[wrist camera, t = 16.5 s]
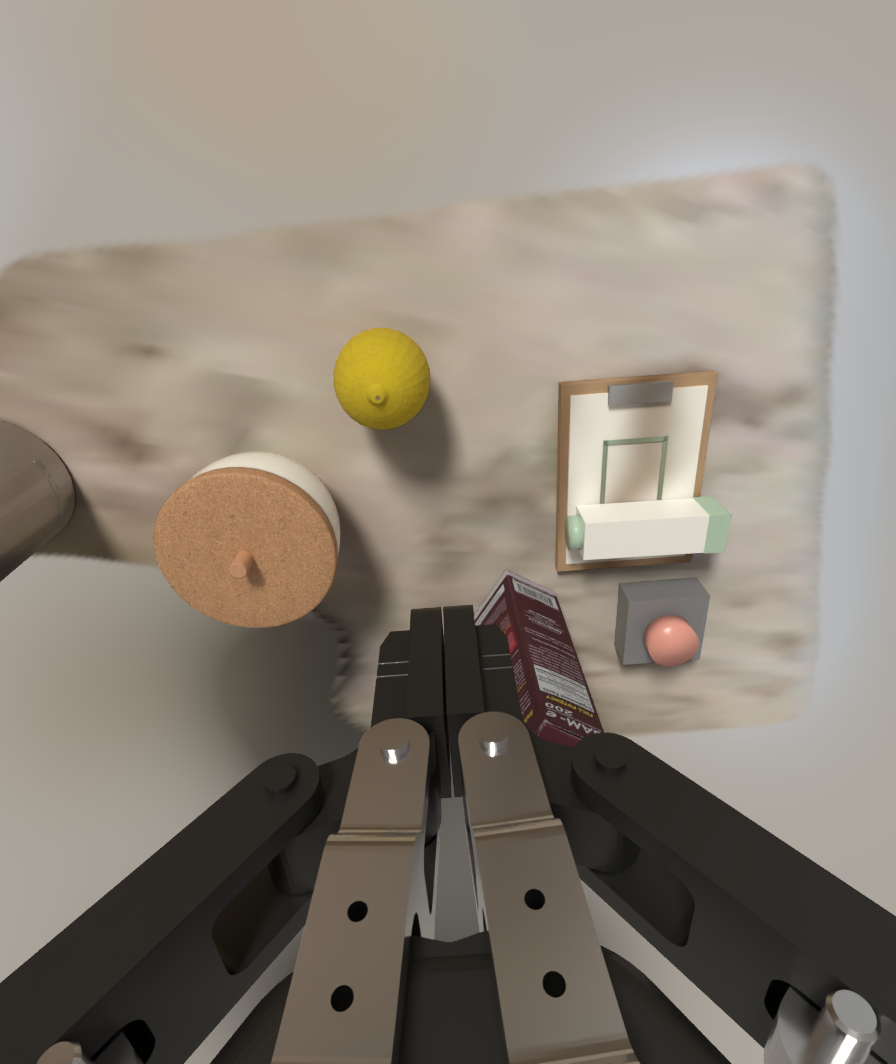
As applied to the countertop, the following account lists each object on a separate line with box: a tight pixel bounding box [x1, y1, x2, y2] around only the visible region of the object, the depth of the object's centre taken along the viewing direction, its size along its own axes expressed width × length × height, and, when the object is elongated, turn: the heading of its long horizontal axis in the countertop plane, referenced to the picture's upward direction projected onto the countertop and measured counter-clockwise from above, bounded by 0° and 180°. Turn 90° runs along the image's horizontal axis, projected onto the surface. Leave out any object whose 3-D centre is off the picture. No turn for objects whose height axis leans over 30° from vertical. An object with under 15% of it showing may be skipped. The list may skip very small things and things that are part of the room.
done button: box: [643, 615, 699, 666], centre depth 44 cm, size 4×4×2 cm
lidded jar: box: [154, 451, 340, 628], centre depth 38 cm, size 11×11×9 cm
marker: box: [565, 496, 731, 560], centre depth 41 cm, size 3×3×10 cm
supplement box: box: [474, 570, 604, 747], centre depth 40 cm, size 9×5×16 cm, turn 151°
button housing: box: [614, 578, 710, 665], centre depth 46 cm, size 6×6×2 cm
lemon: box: [334, 328, 430, 430], centre depth 34 cm, size 6×6×8 cm
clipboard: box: [555, 371, 718, 572], centre depth 41 cm, size 10×14×1 cm
